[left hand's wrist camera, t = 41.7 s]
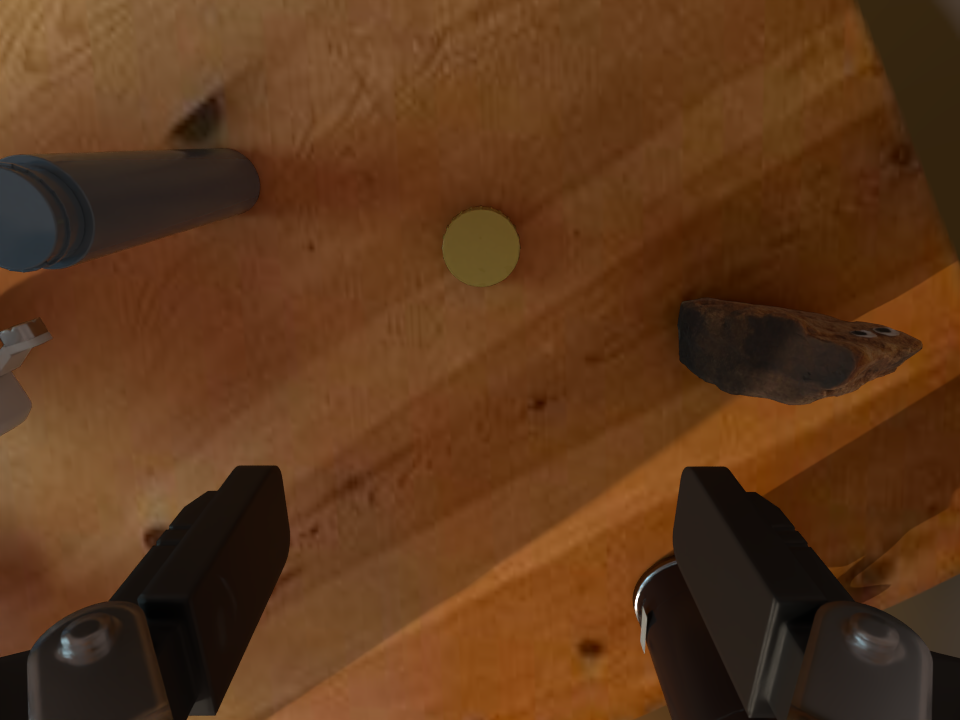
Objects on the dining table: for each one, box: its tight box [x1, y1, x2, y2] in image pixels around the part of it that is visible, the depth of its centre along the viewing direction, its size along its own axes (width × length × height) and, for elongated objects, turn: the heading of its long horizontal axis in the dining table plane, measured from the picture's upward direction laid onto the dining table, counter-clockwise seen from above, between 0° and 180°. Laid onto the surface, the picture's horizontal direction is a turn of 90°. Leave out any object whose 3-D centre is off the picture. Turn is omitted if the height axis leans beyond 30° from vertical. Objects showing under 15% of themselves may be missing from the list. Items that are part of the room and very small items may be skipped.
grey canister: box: [0, 148, 260, 272], centre depth 29 cm, size 4×4×19 cm
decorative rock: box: [678, 298, 922, 405], centre depth 36 cm, size 12×6×11 cm, turn 86°
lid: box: [442, 205, 521, 287], centre depth 39 cm, size 5×5×2 cm
